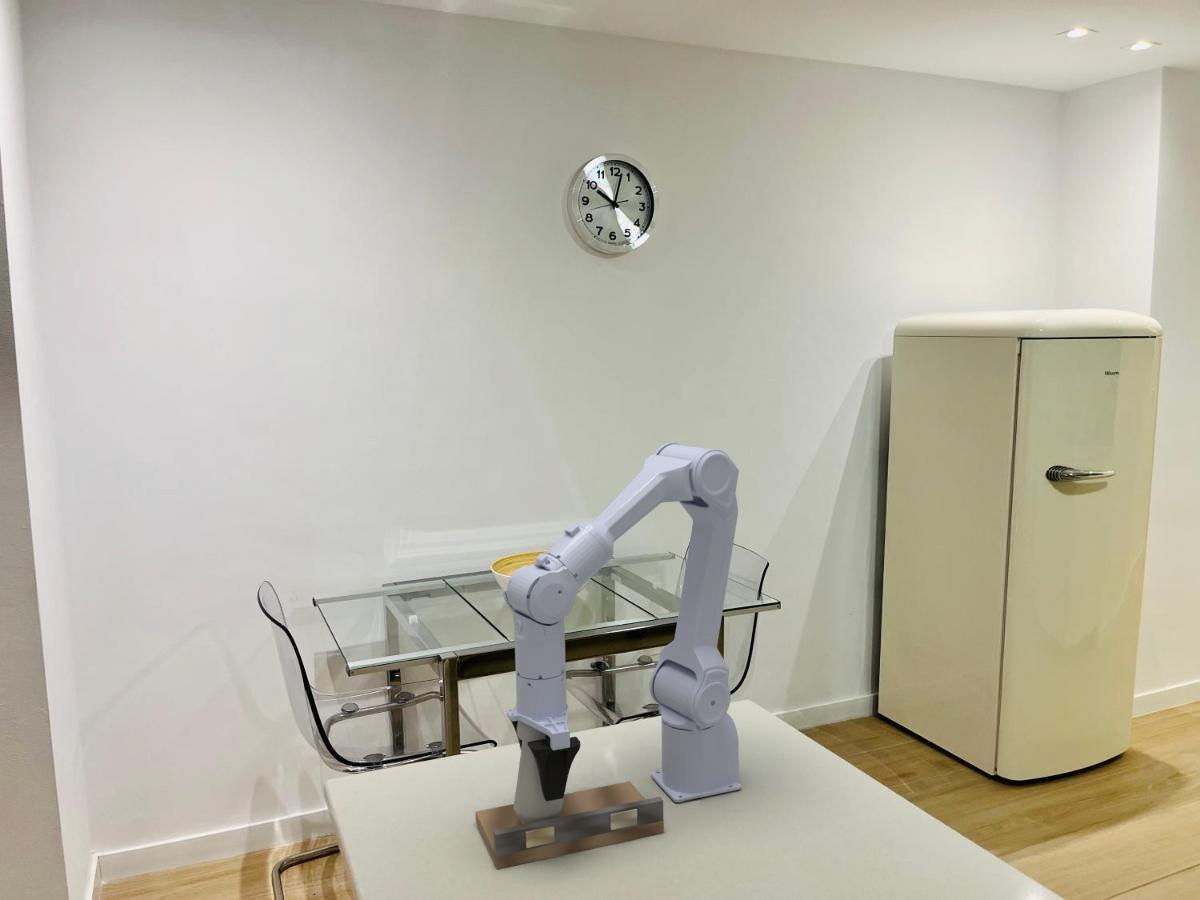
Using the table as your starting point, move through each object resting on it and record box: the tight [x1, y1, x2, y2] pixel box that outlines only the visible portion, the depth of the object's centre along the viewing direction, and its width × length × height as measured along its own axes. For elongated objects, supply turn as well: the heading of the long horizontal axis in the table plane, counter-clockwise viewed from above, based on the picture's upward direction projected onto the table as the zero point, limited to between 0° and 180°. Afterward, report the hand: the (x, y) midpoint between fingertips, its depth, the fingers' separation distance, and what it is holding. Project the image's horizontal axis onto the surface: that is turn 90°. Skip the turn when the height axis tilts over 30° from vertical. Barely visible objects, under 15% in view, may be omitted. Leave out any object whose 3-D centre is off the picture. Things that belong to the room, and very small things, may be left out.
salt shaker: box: [513, 721, 563, 825], centre depth 108 cm, size 6×6×13 cm
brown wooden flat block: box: [474, 780, 665, 870], centre depth 110 cm, size 20×11×4 cm, turn 110°
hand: (544, 783), depth 108 cm, fingers open, 7 cm apart
